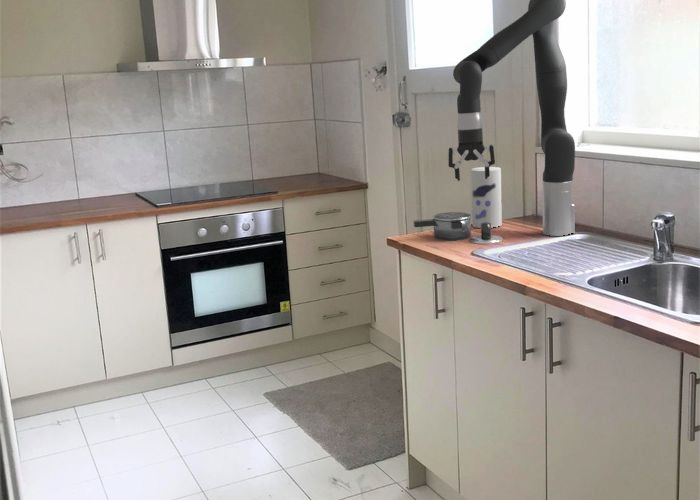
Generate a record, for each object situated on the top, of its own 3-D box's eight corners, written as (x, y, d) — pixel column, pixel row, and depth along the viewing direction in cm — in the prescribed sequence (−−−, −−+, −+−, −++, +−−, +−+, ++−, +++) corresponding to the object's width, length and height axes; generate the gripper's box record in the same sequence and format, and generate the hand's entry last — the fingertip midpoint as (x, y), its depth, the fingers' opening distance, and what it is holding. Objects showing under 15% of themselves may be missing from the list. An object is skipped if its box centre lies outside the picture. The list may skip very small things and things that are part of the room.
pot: (466, 231, 263) (466, 211, 261) (476, 240, 249) (476, 218, 247) (411, 235, 262) (410, 215, 260) (419, 244, 248) (418, 223, 246)
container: (472, 229, 266) (470, 170, 262) (472, 223, 276) (471, 166, 271) (502, 228, 264) (501, 169, 260) (501, 222, 274) (500, 165, 269)
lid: (497, 236, 254) (497, 219, 252) (506, 243, 244) (506, 225, 242) (466, 238, 253) (465, 221, 252) (473, 246, 243) (473, 227, 242)
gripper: (493, 124, 242) (495, 176, 246) (447, 128, 245) (449, 179, 248) (493, 126, 235) (495, 180, 239) (446, 130, 238) (449, 182, 241)
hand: (472, 179), depth 244 cm, fingers open, 8 cm apart
